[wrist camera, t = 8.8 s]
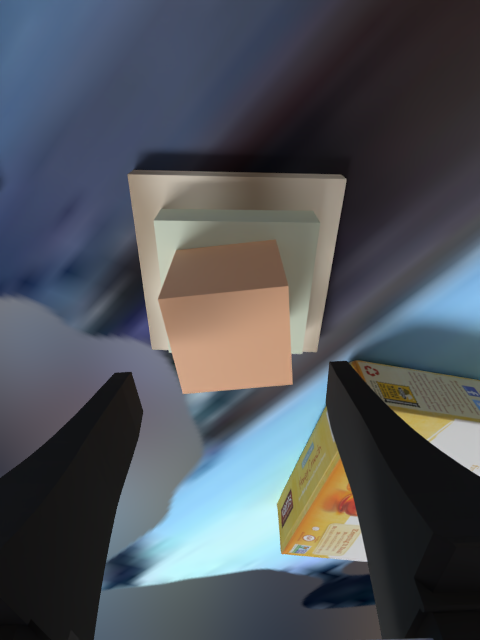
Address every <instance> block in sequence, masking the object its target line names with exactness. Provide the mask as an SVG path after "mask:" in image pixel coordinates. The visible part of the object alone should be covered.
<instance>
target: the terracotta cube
mask: <svg viewBox="0 0 480 640" xmlns="http://www.w3.org/2000/svg"><path fill="white" fill-rule="evenodd" d="M158 302H159V306H160V310H161V313H162V317H163V321H164V325H165V328H166V332H167V336H168V339H169V343H170V347H171V351H172V354H173V358H174V362H175V366H176V369H177V373H178V377H179V380H180V384H181V388H182V392H183V394H188V393H200V392H211V391H222V390H234V389H245V388H256V387H268V386H279V385H290V384H292V361H291V336H290V311H289V287H288V282H287V279H286V275H285V271H284V268H283V264H282V260H281V257H280V253H279V249H278V246H277V242H276V239H275V240H266V241H256V242H247V243H238V244H229V245H219V246H210V247H201V248H192V249H183V250H176V252H175V254H174V257H173V260H172V262H171V265H170V268H169V270H168V273H167V276H166V278H165V281H164V284H163V286H162V289H161V292H160V295H159V297H158Z"/></svg>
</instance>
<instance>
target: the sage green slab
mask: <svg viewBox="0 0 480 640" xmlns="http://www.w3.org/2000/svg"><path fill="white" fill-rule="evenodd" d="M154 229H155V237H156V246H157V254H158V262H159V271H160V279H161V288H162V286H163V284H164V281H165V278H166V276H167V273H168V270H169V268H170V265H171V262H172V260H173V257H174V254H175V252H176V250H183V249H192V248H201V247H210V246H219V245H229V244H238V243H247V242H256V241H266V240H275V239H276V242H277V246H278V249H279V253H280V257H281V260H282V264H283V268H284V271H285V275H286V279H287V282H288V287H289V311H290V336H291V354H302V351H303V344H304V337H305V329H306V322H307V315H308V308H309V301H310V293H311V286H312V279H313V272H314V265H315V257H316V250H317V243H318V236H319V229H320V221H319V220H318V218H317V216H316V215H315V213H314V211H290V210H221V209H161V210H160V211H159V213H158V214H157V216H156V217H155V219H154ZM167 339H168V336H167ZM168 347H169V352H172V351H171V347H170V343H169V339H168Z"/></svg>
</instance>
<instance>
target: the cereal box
mask: <svg viewBox="0 0 480 640" xmlns="http://www.w3.org/2000/svg"><path fill="white" fill-rule="evenodd" d="M349 364H350V365H351V366H352V367H353V368H354V369H355V371H356V372H357V373H358V374H359V375H360V376H361V378H362V379H363V380H364V381H365V382H366V383H367V384H368V385H369V386H370V388H371V389H372V390H373V391H374V392H375V393H376V394H377V395H378V396H379V397H380V398H381V399H382V400H383V401H384V402H385V403H386V404H387V405H388V406H389V407H390V408H391V409H392V410H393V411H394V412H395V413H396V414H397V415H398V416H399V417H400V418H402V419H403V420H404V421H405V422H406V423H407V424H408V425H409V426H410V427H412V428H413V429H414V430H415V431H416V432H417V433H419V434H420V435H421V436H423V437H424V438H425V439H426V440H428V441H429V442H430V443H431V444H433V445H434V446H435V447H437V448H438V449H439V450H441V451H442V452H444V453H445V454H447V455H448V456H449V457H451V458H452V459H454V460H455V461H457V462H458V463H460V464H461V465H463V466H464V467H466V468H467V469H469V470H470V471H472V472H473V473H475V474H477V475H478V476H480V380H476V379H470V378H464V377H458V376H452V375H445V374H439V373H433V372H427V371H421V370H415V369H409V368H403V367H397V366H390V365H384V364H378V363H372V362H365V361H359V360H355V361H352V362H349ZM277 507H278V518H279V531H280V545H281V554H289V555H299V556H310V557H321V558H333V559H343V560H353V561H364V562H367V557H366V552H365V548H364V543H363V538H362V534H361V529H360V525H359V520H358V516H357V511H356V507H355V503H354V499H353V495H352V492H351V488H350V485H349V482H348V479H347V476H346V473H345V470H344V467H343V464H342V461H341V458H340V455H339V452H338V449H337V446H336V443H335V440H334V437H333V434H332V430H331V427H330V422H329V417H328V412H327V407H325V409H324V411H323V413H322V415H321V417H320V419H319V421H318V423H317V425H316V427H315V429H314V431H313V433H312V435H311V437H310V439H309V441H308V443H307V444H306V446H305V448H304V450H303V452H302V454H301V456H300V458H299V460H298V462H297V464H296V466H295V468H294V470H293V472H292V474H291V476H290V478H289V480H288V482H287V484H286V486H285V488H284V490H283V492H282V494H281V497H280V499H279V501H278V503H277Z"/></svg>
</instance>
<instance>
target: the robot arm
mask: <svg viewBox="0 0 480 640" xmlns="http://www.w3.org/2000/svg"><path fill="white" fill-rule="evenodd" d="M326 407H327V412H328V417H329V422H330V427H331V430H332V434H333V437H334V440H335V443H336V446H337V449H338V452H339V455H340V458H341V461H342V464H343V467H344V470H345V473H346V476H347V479H348V482H349V485H350V488H351V492H352V495H353V499H354V503H355V507H356V511H357V516H358V520H359V525H360V529H361V534H362V538H363V543H364V548H365V552H366V557H367V562H368V567H369V572H370V577H371V582H372V587H373V592H374V597H375V603H376V608H377V614H378V619H379V624H380V630H381V636H382V639H380V640H480V476H478V475H477V474H475V473H473V472H472V471H470V470H469V469H467V468H466V467H464V466H463V465H461V464H460V463H458V462H457V461H455V460H454V459H452V458H451V457H449V456H448V455H447V454H445V453H444V452H442V451H441V450H439V449H438V448H437V447H435V446H434V445H433V444H431V443H430V442H429V441H428V440H426V439H425V438H424V437H423V436H421V435H420V434H419V433H417V432H416V431H415V430H414V429H413V428H412V427H410V426H409V425H408V424H407V423H406V422H405V421H404V420H403V419H402V418H400V417H399V416H398V415H397V414H396V413H395V412H394V411H393V410H392V409H391V408H390V407H389V406H388V405H387V404H386V403H385V402H384V401H383V400H382V399H381V398H380V397H379V396H378V395H377V394H376V393H375V392H374V391H373V390H372V389H371V388H370V386H369V385H368V384H367V383H366V382H365V381H364V380H363V379H362V378H361V376H360V375H359V374H358V373H357V372H356V371H355V369H354V368H353V367H352V366H351V365H350V364H349V363H348V362H347V361H335V362H329V372H328V383H327V394H326ZM142 415H143V409H142V406H141V403H140V399H139V396H138V393H137V389H136V386H135V383H134V379H133V376H132V372H122V373H114V374H113V375H112V377H111V378H110V379H109V380H108V381H107V382H106V383H105V384H104V385H103V386H102V387H101V388H100V389H99V390H98V391H97V393H96V394H95V395H94V396H93V397H92V398H91V399H90V400H89V401H88V402H87V403H86V404H85V405H84V406H83V408H81V409H80V410H79V412H78V413H77V414H76V415H75V416H74V417H73V418H72V419H70V421H68V422H67V423H66V424H65V425H64V426H63V427H62V428H61V429H60V430H59V431H58V432H57V433H56V434H55V435H54V436H53V437H52V438H50V439H49V440H48V441H47V442H46V443H45V444H44V445H42V446H41V447H40V448H39V449H38V450H36V452H34V453H33V454H32V455H30V456H29V457H28V458H27V459H25V460H24V461H23V462H21V463H20V464H19V465H17V466H16V467H15V468H13V469H12V470H11V471H9V472H8V473H6V474H5V475H4V476H2V477H1V478H0V640H94V634H95V627H96V619H97V613H98V605H99V599H100V593H101V587H102V581H103V575H104V569H105V564H106V559H107V553H108V548H109V543H110V537H111V533H112V528H113V524H114V518H115V514H116V509H117V506H118V502H119V498H120V495H121V492H122V488H123V485H124V482H125V479H126V476H127V473H128V470H129V467H130V463H131V460H132V457H133V454H134V450H135V447H136V444H137V441H138V437H139V433H140V427H141V422H142Z"/></svg>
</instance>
